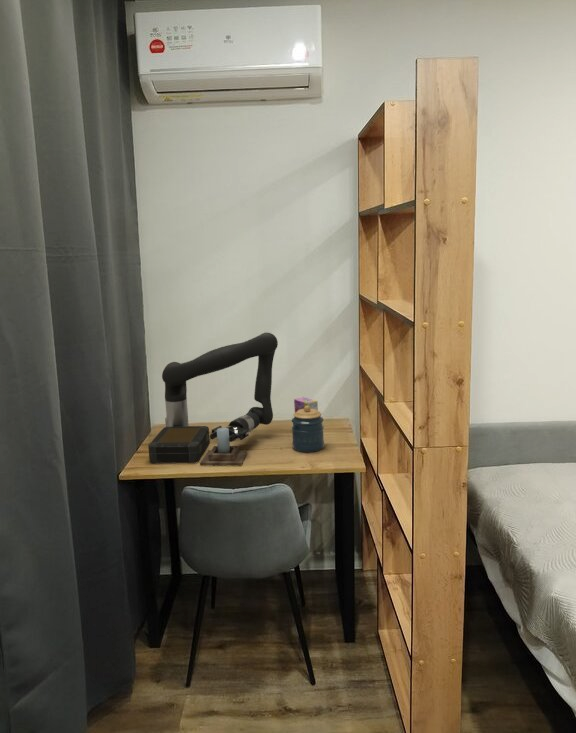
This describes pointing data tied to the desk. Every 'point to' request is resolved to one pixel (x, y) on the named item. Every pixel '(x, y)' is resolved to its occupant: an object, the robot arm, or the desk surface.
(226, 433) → the cylinder
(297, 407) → the box
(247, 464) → the desk surface
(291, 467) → the desk surface
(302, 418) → the canister
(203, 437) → the cash box
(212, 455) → the holder
